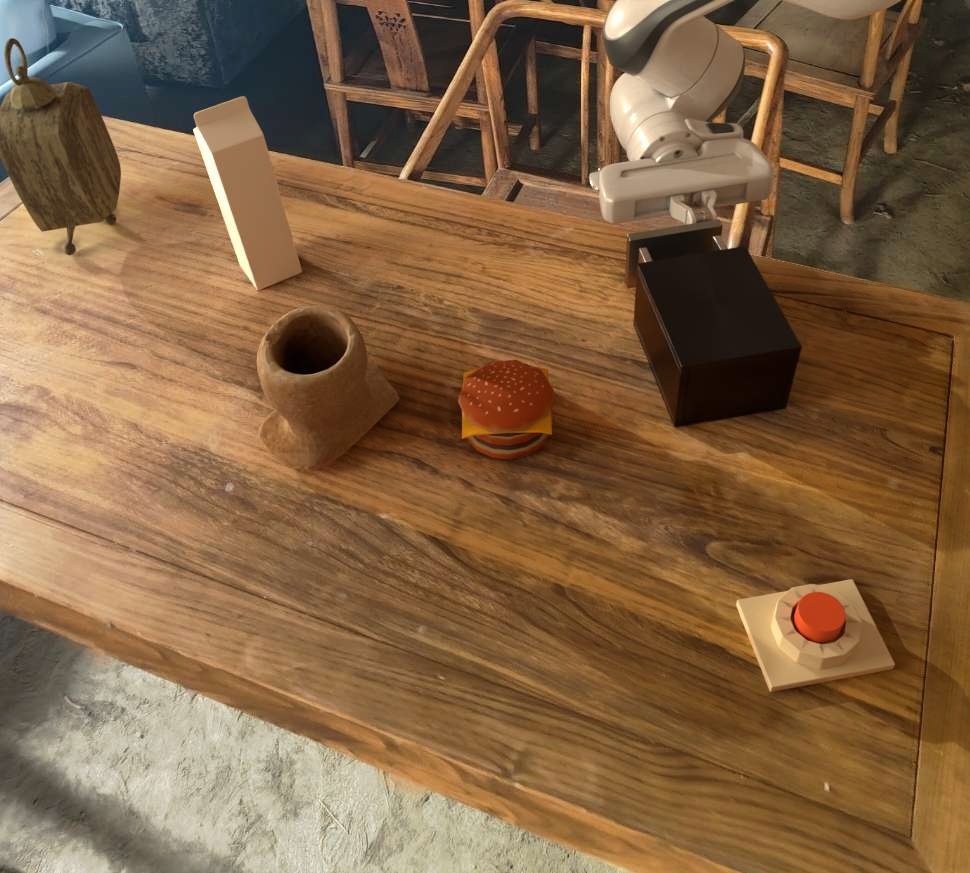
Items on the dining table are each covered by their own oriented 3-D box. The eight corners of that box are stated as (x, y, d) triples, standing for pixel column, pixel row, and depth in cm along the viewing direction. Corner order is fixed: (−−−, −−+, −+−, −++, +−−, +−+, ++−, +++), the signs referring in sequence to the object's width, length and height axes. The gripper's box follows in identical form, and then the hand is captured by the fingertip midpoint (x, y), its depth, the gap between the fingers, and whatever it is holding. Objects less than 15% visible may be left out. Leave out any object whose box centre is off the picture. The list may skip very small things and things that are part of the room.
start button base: (847, 592, 79) (857, 566, 76) (888, 677, 74) (902, 653, 71) (733, 613, 79) (739, 588, 76) (767, 700, 73) (775, 677, 70)
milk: (240, 266, 115) (181, 102, 98) (284, 248, 117) (235, 83, 100) (258, 292, 111) (201, 126, 95) (304, 272, 113) (255, 106, 97)
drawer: (621, 275, 107) (624, 227, 102) (709, 261, 108) (716, 212, 102) (660, 369, 97) (664, 321, 92) (756, 353, 97) (766, 304, 92)
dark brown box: (633, 324, 103) (637, 263, 96) (734, 307, 103) (745, 245, 97) (674, 427, 93) (681, 366, 86) (786, 408, 93) (802, 346, 87)
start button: (829, 599, 75) (834, 587, 74) (848, 638, 73) (853, 627, 71) (786, 607, 75) (790, 595, 73) (804, 646, 72) (808, 635, 71)
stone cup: (325, 500, 90) (289, 394, 79) (247, 444, 95) (203, 337, 84) (431, 408, 97) (412, 298, 85) (353, 360, 102) (325, 251, 91)
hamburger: (559, 457, 91) (558, 412, 86) (462, 465, 92) (455, 420, 87) (552, 388, 97) (550, 342, 92) (461, 395, 98) (454, 350, 93)
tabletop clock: (69, 201, 127) (-19, 20, 108) (135, 190, 128) (59, 8, 109) (56, 265, 118) (-43, 80, 99) (127, 253, 118) (43, 67, 99)
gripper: (585, 147, 110) (614, 215, 101) (752, 121, 111) (796, 186, 102) (584, 193, 115) (612, 261, 106) (745, 167, 116) (786, 233, 107)
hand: (704, 224), depth 104 cm, fingers closed
